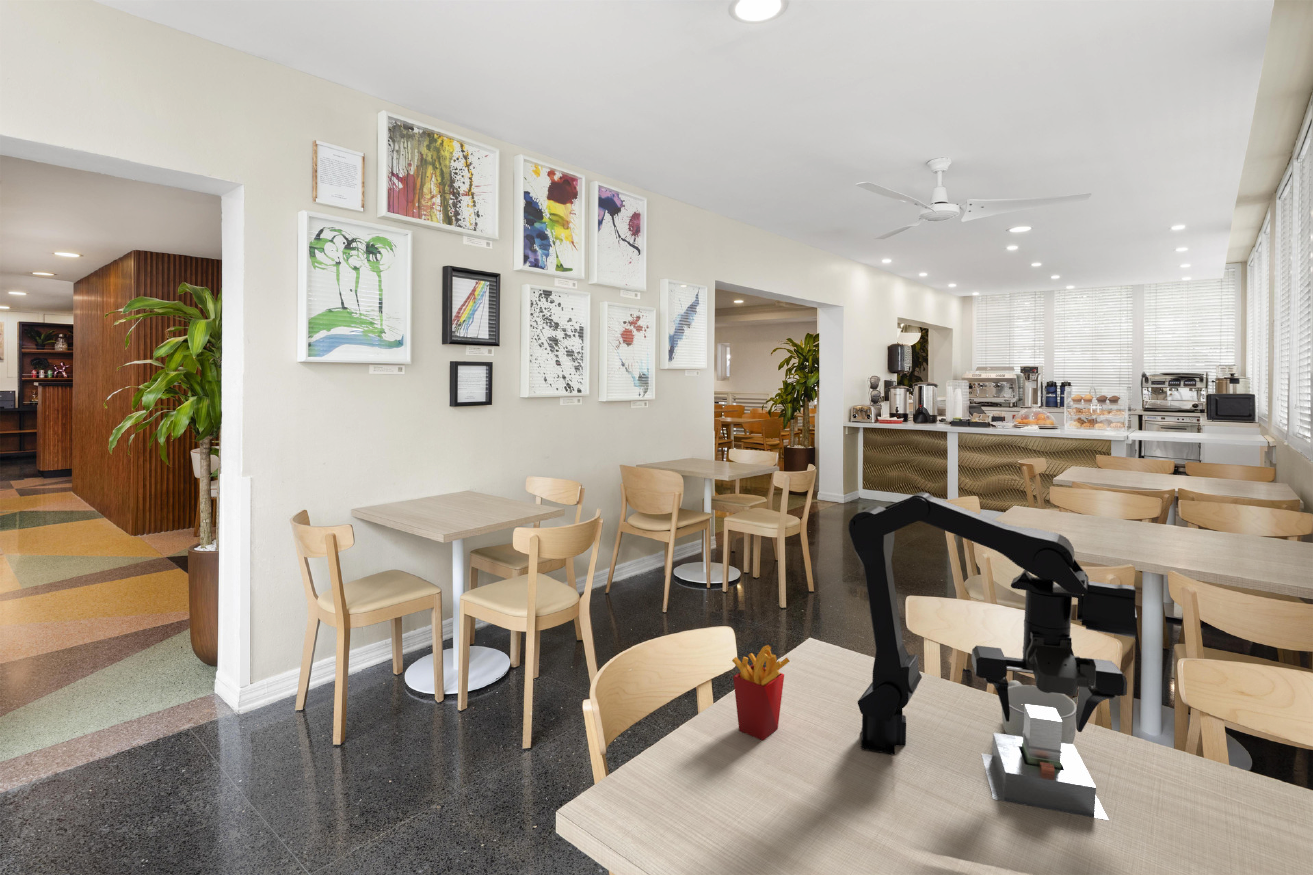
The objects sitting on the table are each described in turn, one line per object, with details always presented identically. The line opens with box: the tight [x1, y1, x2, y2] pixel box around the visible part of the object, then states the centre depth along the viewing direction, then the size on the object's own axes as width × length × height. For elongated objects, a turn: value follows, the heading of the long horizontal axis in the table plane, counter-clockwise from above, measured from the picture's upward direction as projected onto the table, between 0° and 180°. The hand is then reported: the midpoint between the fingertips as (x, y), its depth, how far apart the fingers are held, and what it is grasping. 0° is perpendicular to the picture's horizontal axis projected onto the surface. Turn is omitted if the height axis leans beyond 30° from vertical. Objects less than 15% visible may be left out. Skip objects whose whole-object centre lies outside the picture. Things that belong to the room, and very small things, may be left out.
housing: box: [980, 732, 1109, 821], centre depth 96 cm, size 14×12×6 cm
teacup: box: [1001, 679, 1077, 745], centre depth 109 cm, size 14×11×8 cm
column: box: [1022, 704, 1062, 769], centre depth 95 cm, size 4×4×7 cm
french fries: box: [731, 644, 790, 741], centre depth 112 cm, size 9×8×15 cm
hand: (1042, 725), depth 95 cm, fingers open, 9 cm apart
